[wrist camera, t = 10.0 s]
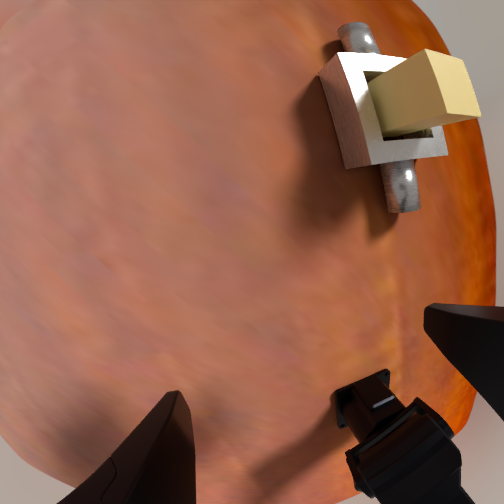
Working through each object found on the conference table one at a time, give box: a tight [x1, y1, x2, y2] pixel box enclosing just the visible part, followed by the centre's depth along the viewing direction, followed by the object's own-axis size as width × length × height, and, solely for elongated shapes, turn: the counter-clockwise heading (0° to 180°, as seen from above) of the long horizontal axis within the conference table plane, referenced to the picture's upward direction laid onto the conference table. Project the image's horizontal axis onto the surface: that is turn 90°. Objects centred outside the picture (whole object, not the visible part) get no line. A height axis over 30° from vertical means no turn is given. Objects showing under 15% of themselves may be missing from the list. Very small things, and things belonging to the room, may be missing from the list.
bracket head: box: [318, 22, 448, 213], centre depth 18 cm, size 16×8×4 cm, turn 14°
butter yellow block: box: [367, 49, 481, 137], centre depth 15 cm, size 4×4×10 cm
